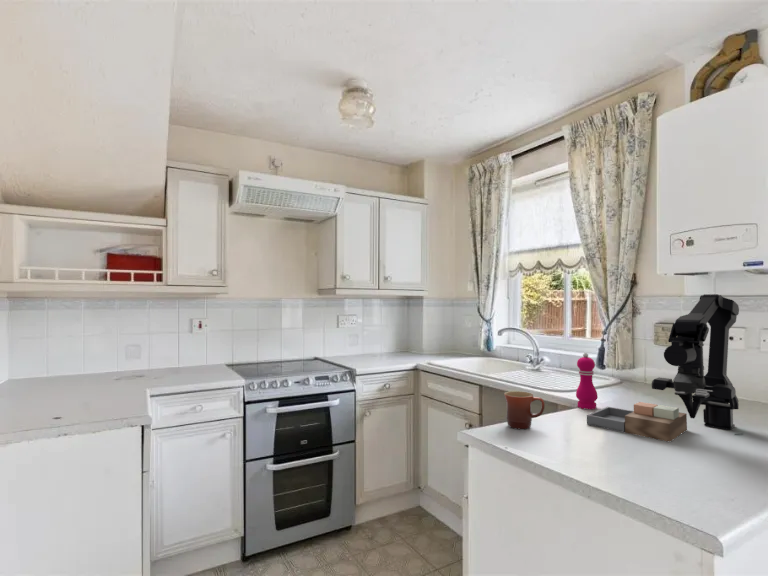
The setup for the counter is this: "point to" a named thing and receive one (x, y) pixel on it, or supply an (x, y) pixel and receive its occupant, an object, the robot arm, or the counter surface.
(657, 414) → the tile sage
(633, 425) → the brown wooden block
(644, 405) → the tile terracotta
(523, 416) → the mug
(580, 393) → the pepper mill
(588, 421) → the box
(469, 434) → the counter surface
